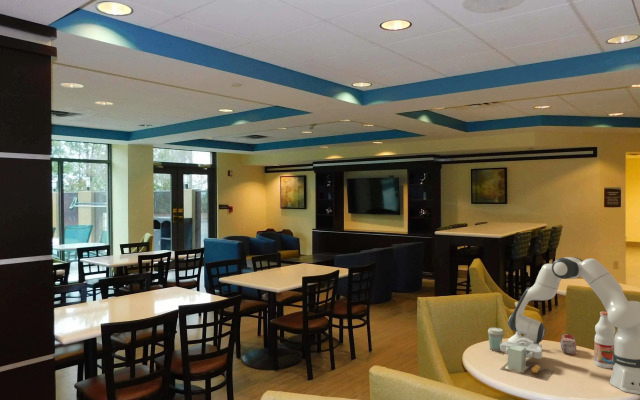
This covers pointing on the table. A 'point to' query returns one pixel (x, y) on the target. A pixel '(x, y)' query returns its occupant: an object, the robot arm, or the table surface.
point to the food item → (568, 344)
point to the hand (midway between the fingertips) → (517, 353)
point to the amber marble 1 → (534, 370)
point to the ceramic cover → (516, 357)
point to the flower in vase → (518, 334)
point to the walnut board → (542, 373)
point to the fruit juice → (604, 342)
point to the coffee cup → (495, 338)
